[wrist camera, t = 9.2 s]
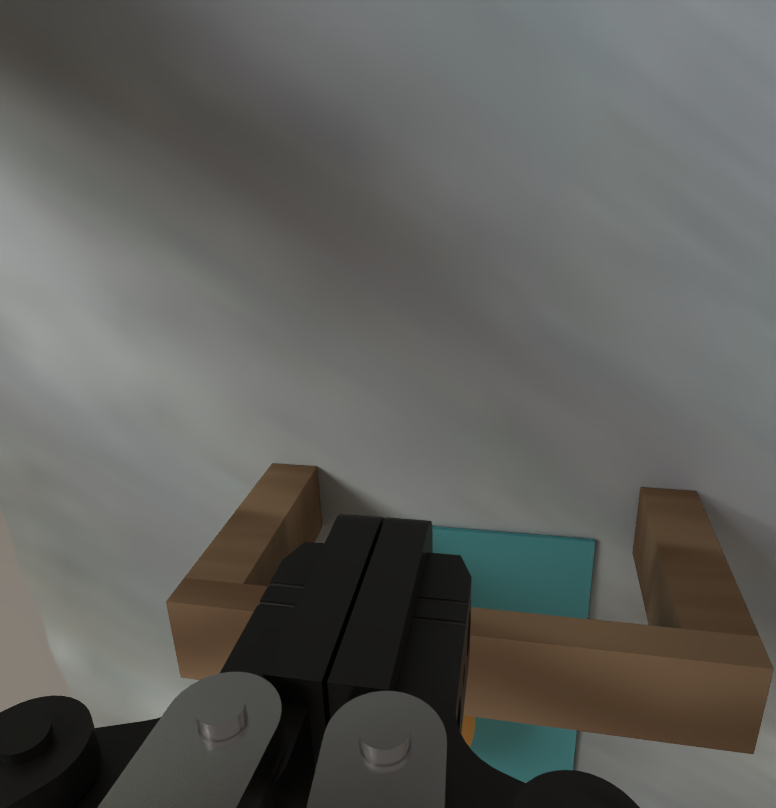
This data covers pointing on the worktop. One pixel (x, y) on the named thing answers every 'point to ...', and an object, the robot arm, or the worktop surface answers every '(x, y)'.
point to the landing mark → (530, 593)
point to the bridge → (533, 627)
